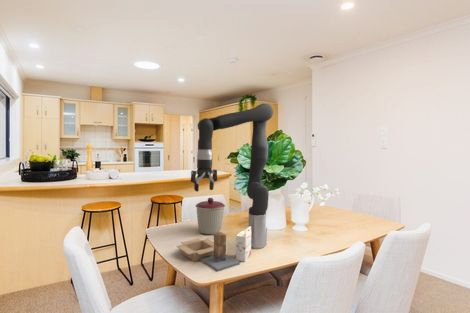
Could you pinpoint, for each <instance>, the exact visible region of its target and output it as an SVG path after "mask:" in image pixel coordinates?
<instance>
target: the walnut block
mask: <svg viewBox="0 0 470 313" xmlns="http://www.w3.org/2000/svg"><path fill="white" fill-rule="evenodd" d="M213 242H214V260H215V261H217V262H222V261H225V260H226V255H227V234H226V233H225V232H222V231H220V232H219V233H214V234H213Z"/></svg>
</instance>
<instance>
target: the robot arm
mask: <svg viewBox="0 0 470 313" xmlns="http://www.w3.org/2000/svg"><path fill="white" fill-rule="evenodd" d="M273 116H274V109H273V107H272V106H271V105H270V104H269V103H260V104H258V105H256V106H255V107H252V108H250V109H245V110H242V111H240V110H239V111H235V112H230V113H229V112H228V113H224V114H221V115H217V116H214V117H209V118H202V119H200V120H199V121H198V123H197V129H198V140H197V152H196V167H197V168H196V169H197V170H191V172H190V182H191V183H192V184H193V185H194V188H193V189H194V191H195V192H199V185H200V181H202V180H204V179H205V180H206V179H207V180H208V182H209V190H210V191H213V190H214V186H215V182H217V181H218V170H217V169H214V168H213V141H212V140H213V134H214V132H215V131H218V130H224V129H225V130H226V129H229V128H234V127H237V126H239V125H240V126H241V125H244V124H246V123H250V122H252V134H251V135H252V136H251V145H250V146H251V147H250V162H249V174H248V180H247V181H248V182H247V187H246V194H247V197H248V198H249V199H251V200H252V206H249V208H248V223H247V226H248V227H250V226H251V249H252V248H253V249H262V248H265V247H266V246H267V239H268V237H267V236H268V228H267V227H266V226H267V225H266V224H267V210H268V208H269V207H268V206H269V195H270V194H269V189H268V187H267V186H266V185H265V184H262V174H263V172H264V169H265V167H266V165H267V162H268V158H269V143H268V138H267V123H268V121H270V120H271V119H272V118H273ZM212 168H213V169H212ZM248 227H247V228H248ZM248 231H249V230H248Z"/></svg>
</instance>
